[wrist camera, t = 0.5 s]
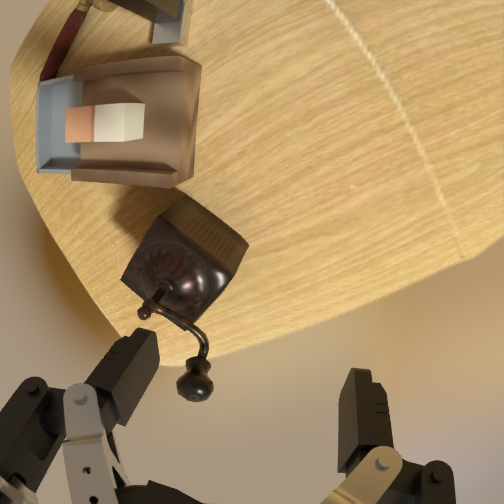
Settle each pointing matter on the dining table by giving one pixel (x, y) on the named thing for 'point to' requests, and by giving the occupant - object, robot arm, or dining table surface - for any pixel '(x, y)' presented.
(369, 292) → the dining table surface
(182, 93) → the slot block
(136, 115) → the off-white cube
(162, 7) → the grey upright post
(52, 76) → the gavel
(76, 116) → the terracotta cube
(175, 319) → the antique coffee grinder
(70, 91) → the tray
